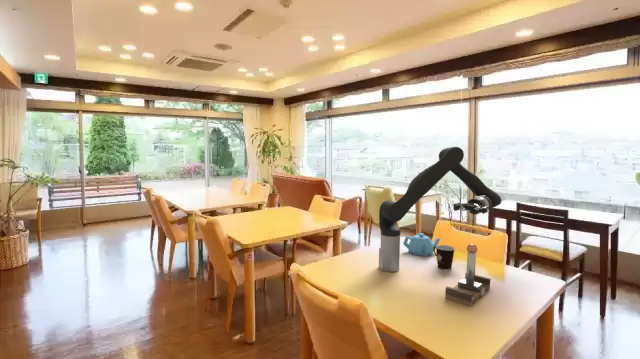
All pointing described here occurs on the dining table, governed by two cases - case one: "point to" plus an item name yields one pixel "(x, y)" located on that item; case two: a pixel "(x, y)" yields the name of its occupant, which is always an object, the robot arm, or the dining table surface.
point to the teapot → (420, 244)
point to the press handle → (470, 271)
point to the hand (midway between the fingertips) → (464, 209)
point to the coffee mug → (444, 256)
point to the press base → (468, 292)
